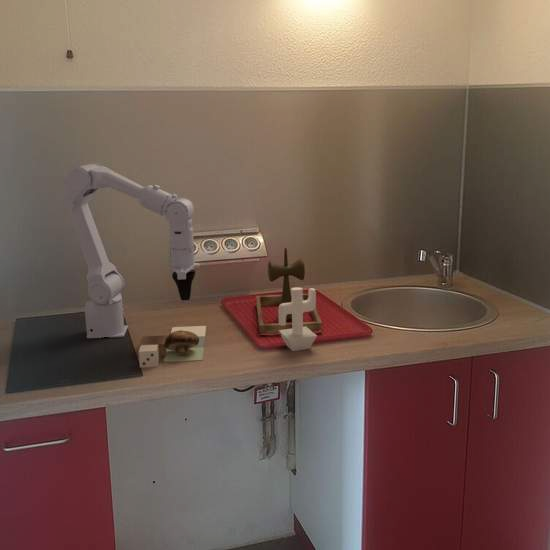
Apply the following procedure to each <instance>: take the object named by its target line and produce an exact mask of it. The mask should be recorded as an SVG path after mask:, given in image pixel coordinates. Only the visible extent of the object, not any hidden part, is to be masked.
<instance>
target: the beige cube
mask: <svg viewBox="0 0 550 550" xmlns="http://www.w3.org/2000/svg"><path fill="white" fill-rule="evenodd" d="M138 358H139V359H138V360H139V368H155V367H158V366H159V362H160V356H159V351H158V345H141V346H140V349H139V350H138Z"/></svg>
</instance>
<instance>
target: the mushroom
mask: <svg viewBox="0 0 550 550" xmlns="http://www.w3.org/2000/svg"><path fill="white" fill-rule="evenodd" d="M198 343H199V337H198V336H197V335H196V334H194V333H192V332H189V331H182V330H179V331H175V332H173V333H171V332H170V334H168V335H167V338H166V340H165V346H166V348H167V349H170V350H176V352H177V353H178V354H181V355H188V349H190V348H193V347H195V346H197V345H198Z"/></svg>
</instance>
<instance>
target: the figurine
mask: <svg viewBox="0 0 550 550" xmlns="http://www.w3.org/2000/svg"><path fill="white" fill-rule="evenodd" d="M290 291H291V296H292V301H291V302H290V303H282V304H280V305H278V312H277V313H278V314H277V317H278V316H279V318H278V323H279V325H281V326H285V325H286V323H287V320H286V315H287V314H292V319H291V323H292V328H291V329H284V330H279V332H280V334H281V335H280V337H282V340H283V341H284V343H286V344H285V345H286V346H287V348H288V349H290V350H291V352H297V351H298V352H299V351H303V350H308V349H309V350H310V348H311V347H312V346H313V344H314V342H315V340H316V339H317V337H318V335H317V333H313V332H312V331H311V330H310V329H308V328H307V327H306V326H305V327H303V322H304V317H303V315H304V313H307V312H310V311H313V310H314V309H315V307H316V306H317V304H316V303H317V292H316V289H315V288H313V287H311V288H309V289H308V293H307V294H308V300H305V301H303V294H304V290H303V287H292V288H290ZM316 308H317V307H316Z"/></svg>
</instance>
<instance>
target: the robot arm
mask: <svg viewBox="0 0 550 550" xmlns="http://www.w3.org/2000/svg"><path fill="white" fill-rule="evenodd" d="M63 184H64V199H63V205H64V206H65V209H66V213H67V215H68V218H69V220H70V222H71V225H72V228H73V231H74V234H75V236H76V239H77V241H78V244H79V247H80V250H81V251H82V255H83V258H84V261H85V263H86V265H87V269H88V270H87V274H86V279H85V280H86V282H87V285H88V286H87V294H88V297H89V298H90V301H86V302H85V306H84V316H85V317H84V318H85V327H86V328H85V329H86V338H87V339H102V337H103V339H104V337H109V338H124V336H125V334H126V333H127V330H128V327H129V325H127V324H126V325H125V320H124V319H125V318H124V308H123V307H124V306H123V297H122V292H123V290H124V288H125V280H124V278H123V276H122V275H121V274H120V273H119V271H118V270H117V267H116V265H114V264H113V263H112V262H110V261H109V258H108V256H107V252H106V249H105V247H104V245H103V242H102V238H101V237H100V234H99V230H98V228H97V226H96V223H95V221H94V217H93V215H92V211H91V210H90V206H89V202H90V200H91V199H92V196H93V195H94V193H95V192H96V191H97V190H99V189H106V188H110V189H112V190H115V191H117V192H119V193H122V194H124V195H127V196H129V197H132V198H134V199H137V200H138V202H139V204H140V207H143V208H145V209H147V210H148V211H151V212H153V213H155V214H158V215H160V216H162V217H165V219H166V220H167V222H168V223H169V241H170V243H169V244H170V256H171V258H170V259H171V265H170V267H171V270H172V271H173V272H172V273H171V274H172V275H171V277H172V279H173V281H174V282H175V285H176V286H177V290H178V294H179V298H180V300H181V301H190V299H191V294H192V284H193V280H194V279H195V277H196V269H195V268H200V266H201V265H200V263H199V262H196V261H195V260H196V259H195V242H194V228H193V216H194V215H195V210H196V209H195V206H194V202H193V201H191V200H190V199H188V198H187V196H186V197H185V196H179V197H178V194H176V193H172V194H171V193H169V192H167V191H165V190H162V189H161V186H160V185H157V184H154V185H152V184H150V185H146V186H142V185H140V184H139V183H136V182H135V181H133V180H131V179H129V178H127V177H125V176H123V175H122V174H119V173H117V172H116V171H113V170H112V169H110V168H108V167H106V166H103V165H100V164H99V163H97V162H90V163H87V164H84V165H81V166H74V167H72V168H70V169H69V171H68V172H67V174H66V175H65V177H64V178H63Z"/></svg>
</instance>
